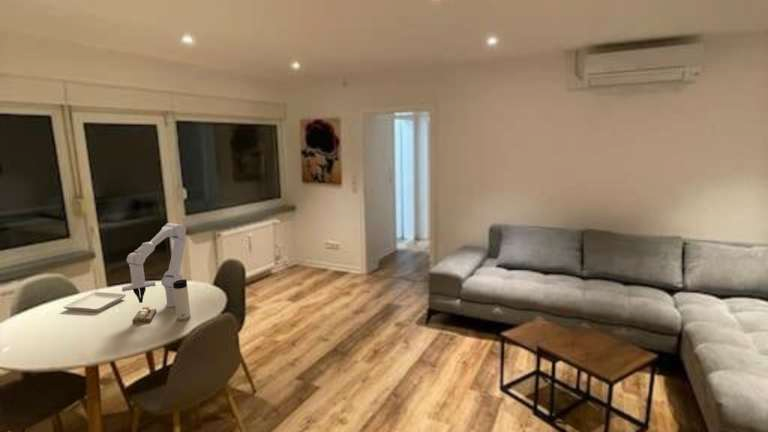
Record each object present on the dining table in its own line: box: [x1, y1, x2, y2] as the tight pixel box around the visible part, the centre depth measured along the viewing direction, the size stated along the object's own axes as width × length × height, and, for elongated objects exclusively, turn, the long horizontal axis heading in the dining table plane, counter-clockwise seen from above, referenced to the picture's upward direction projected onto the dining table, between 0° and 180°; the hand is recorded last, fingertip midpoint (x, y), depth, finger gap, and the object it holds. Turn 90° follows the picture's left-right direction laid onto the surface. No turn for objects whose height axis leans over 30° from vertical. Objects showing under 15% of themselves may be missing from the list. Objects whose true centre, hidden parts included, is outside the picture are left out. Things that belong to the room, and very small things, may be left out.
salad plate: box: [62, 291, 127, 312], centre depth 234 cm, size 21×21×3 cm
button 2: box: [141, 306, 151, 314], centre depth 219 cm, size 3×3×3 cm
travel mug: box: [173, 278, 191, 322], centre depth 214 cm, size 6×7×20 cm
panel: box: [132, 308, 157, 325], centre depth 216 cm, size 8×12×2 cm, turn 16°
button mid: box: [140, 309, 148, 318], centre depth 216 cm, size 3×3×3 cm
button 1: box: [139, 312, 147, 319], centre depth 212 cm, size 3×3×3 cm
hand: (140, 302), depth 217 cm, fingers closed
